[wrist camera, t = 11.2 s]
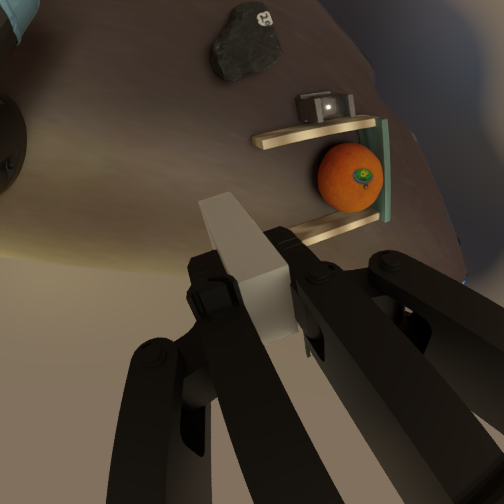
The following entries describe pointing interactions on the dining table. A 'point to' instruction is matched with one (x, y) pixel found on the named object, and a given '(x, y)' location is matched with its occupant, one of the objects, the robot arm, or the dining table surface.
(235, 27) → the rock
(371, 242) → the dining table surface
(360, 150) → the fruit
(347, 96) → the dark grey bracket
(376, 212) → the bay
